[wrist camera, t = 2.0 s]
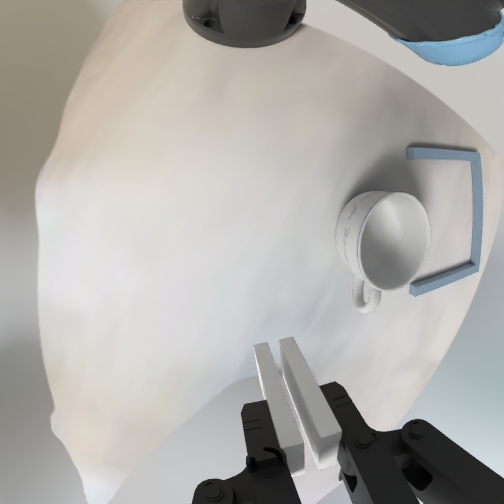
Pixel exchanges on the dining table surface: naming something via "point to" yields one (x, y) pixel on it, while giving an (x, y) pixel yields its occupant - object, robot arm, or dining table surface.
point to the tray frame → (474, 263)
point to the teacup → (382, 243)
